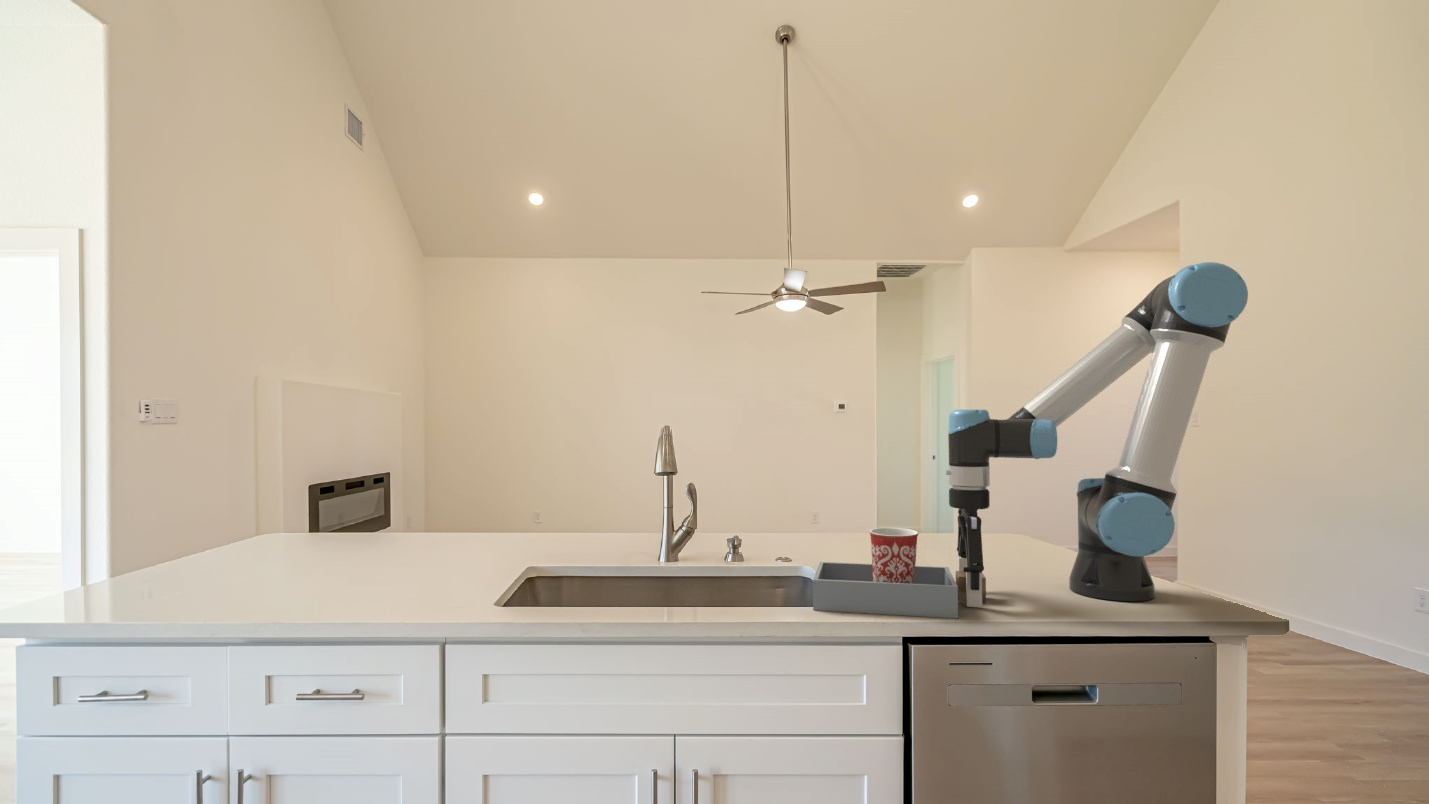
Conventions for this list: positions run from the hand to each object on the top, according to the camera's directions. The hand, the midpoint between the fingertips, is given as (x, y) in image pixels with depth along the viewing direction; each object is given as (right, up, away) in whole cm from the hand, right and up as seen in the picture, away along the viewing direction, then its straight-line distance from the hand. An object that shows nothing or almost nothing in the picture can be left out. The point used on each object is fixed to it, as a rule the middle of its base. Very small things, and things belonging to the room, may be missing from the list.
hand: (969, 598), depth 139 cm
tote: (-18, 0, -2) cm, 18 cm away
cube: (0, 0, 0) cm, 0 cm away
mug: (-16, 0, -3) cm, 16 cm away
